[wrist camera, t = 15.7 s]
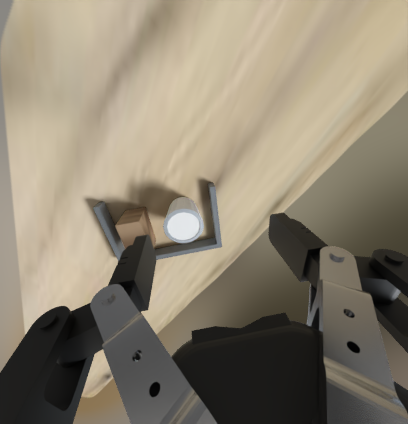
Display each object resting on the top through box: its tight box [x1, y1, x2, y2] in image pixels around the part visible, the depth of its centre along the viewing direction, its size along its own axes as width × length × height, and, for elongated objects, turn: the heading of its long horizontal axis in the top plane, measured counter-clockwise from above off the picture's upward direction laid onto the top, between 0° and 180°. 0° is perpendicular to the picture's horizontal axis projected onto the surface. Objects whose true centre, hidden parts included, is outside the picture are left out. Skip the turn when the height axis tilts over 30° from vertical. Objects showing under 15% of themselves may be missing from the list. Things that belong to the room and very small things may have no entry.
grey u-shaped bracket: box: [93, 183, 222, 261], centre depth 35 cm, size 14×22×2 cm, turn 98°
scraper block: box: [115, 207, 156, 249], centre depth 33 cm, size 8×4×6 cm, turn 8°
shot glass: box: [163, 197, 204, 243], centre depth 32 cm, size 7×7×7 cm
